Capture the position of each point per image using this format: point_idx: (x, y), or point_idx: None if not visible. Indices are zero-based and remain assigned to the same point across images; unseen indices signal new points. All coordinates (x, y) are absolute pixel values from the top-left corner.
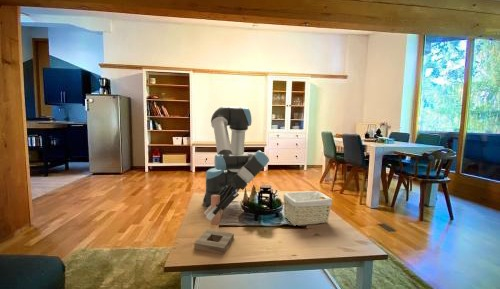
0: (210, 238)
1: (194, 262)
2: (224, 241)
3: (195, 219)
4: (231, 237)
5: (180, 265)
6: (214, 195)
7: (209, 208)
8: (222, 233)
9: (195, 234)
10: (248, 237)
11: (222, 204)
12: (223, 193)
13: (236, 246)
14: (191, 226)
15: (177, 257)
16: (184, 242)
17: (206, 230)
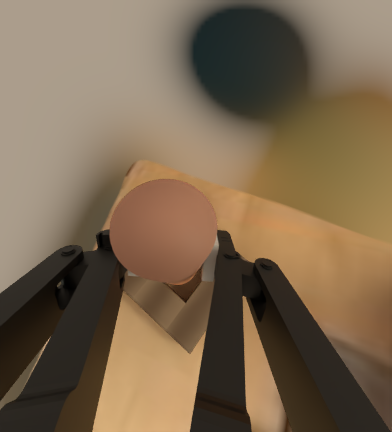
0: None
1: None
2: (148, 294)
3: (362, 258)
4: (167, 331)
5: (128, 175)
6: (189, 220)
7: None
8: (204, 307)
9: (257, 234)
10: (181, 418)
11: (36, 268)
12: (201, 365)
13: (141, 336)
14: (310, 235)
15: (160, 175)
16: (221, 200)
17: (243, 259)
